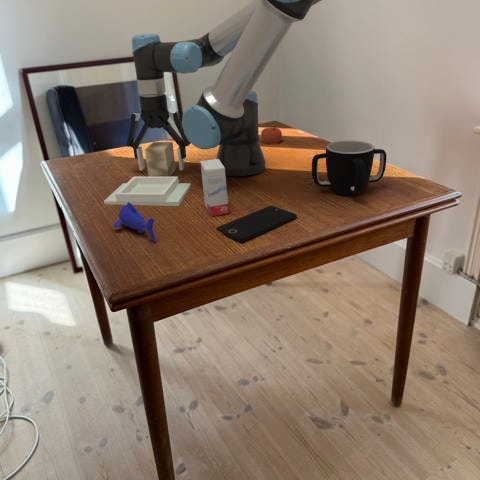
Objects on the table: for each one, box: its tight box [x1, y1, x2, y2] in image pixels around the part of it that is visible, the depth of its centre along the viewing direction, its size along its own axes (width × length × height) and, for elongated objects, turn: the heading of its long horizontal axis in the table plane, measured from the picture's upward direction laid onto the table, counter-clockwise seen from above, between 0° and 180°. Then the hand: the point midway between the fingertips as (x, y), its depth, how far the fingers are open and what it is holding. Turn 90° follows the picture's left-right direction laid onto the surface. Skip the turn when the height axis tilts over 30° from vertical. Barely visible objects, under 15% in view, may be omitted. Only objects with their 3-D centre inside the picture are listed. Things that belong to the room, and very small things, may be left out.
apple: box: [260, 124, 283, 145], centre depth 167 cm, size 7×7×8 cm
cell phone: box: [216, 205, 298, 243], centre depth 111 cm, size 9×18×1 cm, turn 132°
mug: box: [311, 140, 387, 196], centre depth 124 cm, size 16×16×12 cm
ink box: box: [200, 158, 230, 217], centre depth 117 cm, size 9×5×12 cm, turn 13°
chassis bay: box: [103, 176, 192, 207], centre depth 129 cm, size 20×14×4 cm
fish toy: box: [112, 202, 157, 243], centre depth 108 cm, size 15×8×7 cm, turn 41°
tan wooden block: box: [144, 141, 176, 177], centre depth 142 cm, size 6×8×10 cm
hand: (161, 169), depth 143 cm, fingers open, 12 cm apart
